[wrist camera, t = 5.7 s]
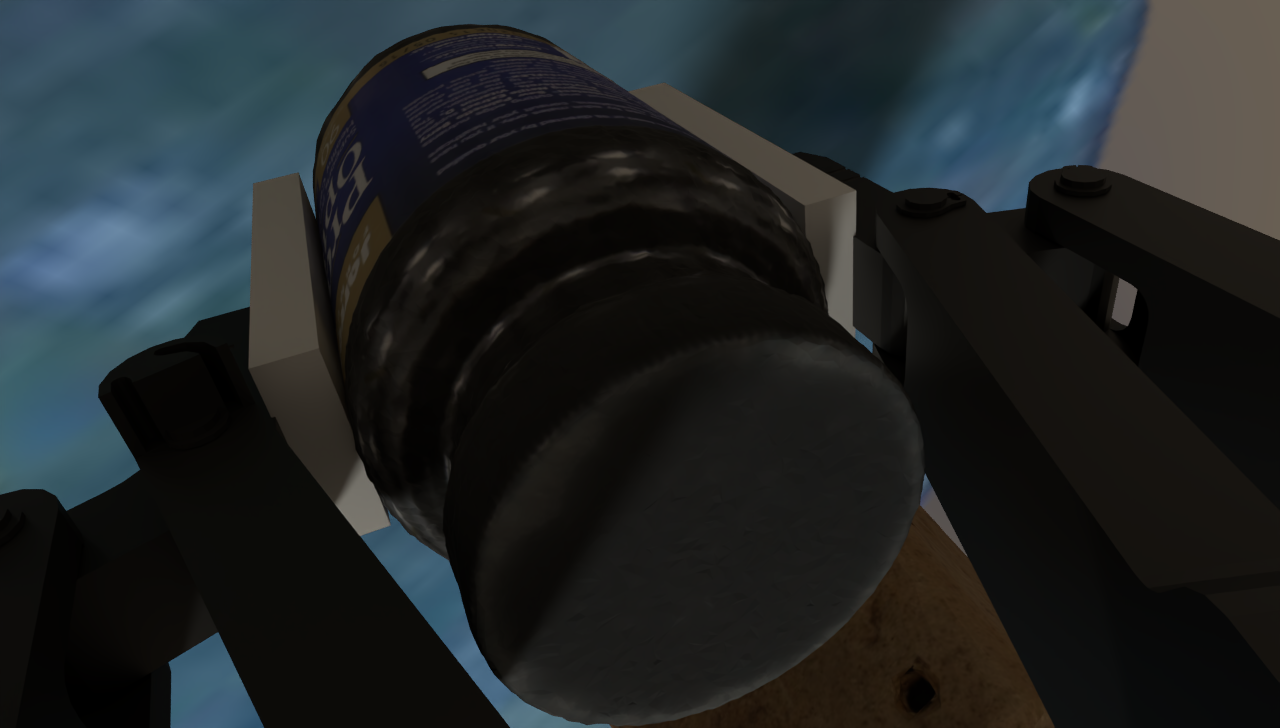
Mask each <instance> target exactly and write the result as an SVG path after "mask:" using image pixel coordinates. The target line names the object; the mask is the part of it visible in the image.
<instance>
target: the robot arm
mask: <svg viewBox="0 0 1280 728" xmlns="http://www.w3.org/2000/svg"><path fill="white" fill-rule="evenodd" d="M629 93H631V94H632V95H634V96H635V97H637V98H638V99H640V100H642V101H643V102H645V103H646V104H648V105H649V106H651V107H652V108H653V109H655V110H656V111H658V112H659V113H661V114H662V115H664V116H665V117H667V118H668V119H670V120H671V121H673V122H674V123H676V124H677V125H679V126H680V127H682V128H683V129H685V130H687V131H689V132H690V133H691V134H692V135H694V136H695V137H697V138H698V139H700V140H702V141H703V142H705V143H706V144H708V145H709V146H711V147H712V148H714V149H715V150H717V151H718V152H720V153H721V154H723V155H725V156H726V157H728V158H730V159H732V160H734V161H736V162H738V163H739V164H741V165H742V166H744V167H745V168H747V169H749V170H750V171H751V172H752V173H753V174H754V176H755V177H756V178H757V179H758V180H759V181H760V182H762V183H763V184H764V185H766V186H767V187H769V188H770V189H771V190H772V191H773V193H774V194H775V195H777V196H778V197H779V198H780V200H781V201H782V203H783V204H784V205H785V206H786V207H787V209H788V210H789V211H790V212H791V214H792V216H793V217H794V219H795V221H796V223H797V224H798V225H799V226H800V228H801V229H802V231H803V233H804V234H805V236H806V238H807V239H808V241H809V242H810V243H811V247H812V249H813V254H814V257H815V259H816V260H817V262H818V264H819V266H820V273H821V275H822V278H823V281H824V283H825V295H826V300H827V302H828V313H829V316H830V317H832V318H833V319H834V320H836V321H837V322H838V323H840V324H841V325H842V326H843V327H844V328H845V329H846V330H847V331H848V332H849V333H850V334H851V335H852V336H853V337H854V338H855V328H856V329H857V330H858V331H860V332H861V333H862V334H863V335H865V336H866V337H867V338H868V339H870V340H871V341H872V342H873V353H872V354H873V355H874V356H876V357H877V358H878V359H880V360H881V361H882V362H883V363H884V364H885V365H886V366H887V368H888V369H889V370H890V371H891V372H892V373H893V374H894V375H895V377H896V378H897V379H899V381H900V382H901V384H902V386H903V387H904V389H905V391H906V392H907V393H908V395H909V397H910V399H911V401H912V403H913V406H914V408H915V411H916V414H917V416H918V419H919V422H920V427H921V431H922V435H923V439H924V446H923V447H924V450H925V457H924V462H925V466H926V467H925V469H924V471H925V474H926V476H927V478H928V480H929V481H930V483H931V485H932V487H933V489H934V491H935V493H936V495H937V497H938V499H939V501H940V503H941V505H942V507H943V509H944V511H945V512H946V515H947V517H948V519H949V521H950V522H951V525H952V527H953V529H954V530H955V532H956V534H957V536H958V538H959V540H960V542H961V544H962V546H963V548H964V550H965V552H966V554H967V556H968V558H969V560H970V562H971V564H972V566H973V568H974V570H975V572H976V574H977V576H978V577H979V579H980V581H981V583H982V585H983V587H984V589H985V591H986V593H987V595H988V597H989V599H990V601H991V603H992V605H993V607H994V609H995V611H996V613H997V615H998V617H999V619H1000V621H1001V623H1002V625H1003V626H1004V628H1005V630H1006V632H1007V634H1008V636H1009V638H1010V640H1011V642H1012V644H1013V646H1014V648H1015V650H1016V652H1017V654H1018V656H1019V658H1020V660H1021V662H1022V664H1023V666H1024V668H1025V670H1026V672H1027V674H1028V675H1029V677H1030V679H1031V681H1032V683H1033V685H1034V687H1035V689H1036V691H1037V693H1038V695H1039V697H1040V699H1041V701H1042V703H1043V705H1044V707H1045V709H1046V711H1047V713H1048V715H1049V717H1050V719H1051V721H1052V722H1053V724H1054V726H1055V728H1280V240H1277V239H1275V238H1272V237H1270V236H1268V235H1265V234H1263V233H1260V232H1258V231H1255V230H1253V229H1251V228H1248V227H1246V226H1244V225H1242V224H1239V223H1237V222H1234V221H1232V220H1229V219H1227V218H1225V217H1223V216H1220V215H1218V214H1215V213H1213V212H1211V211H1208V210H1206V209H1204V208H1201V207H1199V206H1197V205H1194V204H1192V203H1189V202H1187V201H1185V200H1182V199H1180V198H1177V197H1175V196H1173V195H1170V194H1168V193H1165V192H1163V191H1161V190H1158V189H1156V188H1154V187H1151V186H1149V185H1147V184H1144V183H1142V182H1140V181H1137V180H1135V179H1132V178H1130V177H1128V176H1125V175H1123V174H1119V173H1116V172H1113V171H1109V170H1104V169H1097V168H1093V167H1092V166H1088V165H1078V167H1076V165H1073V166H1064V167H1063V168H1061V169H1055V170H1049V171H1046V172H1044V173H1041V174H1039V175H1036V176H1035V177H1034V178H1033V179H1032V180H1031V181H1030V182H1029V187H1028V195H1027V203H1026V208H1022V209H1015V210H1007V211H999V212H991V213H986V212H985V211H984V210H983V209H982V208H981V207H980V206H979V205H978V204H977V203H976V202H975V201H974V200H973V199H971V198H969V197H968V196H966V195H964V194H963V193H960V192H958V191H952V190H948V189H938V188H917V189H908V190H904V191H899V192H895V193H893V192H891V191H889V190H887V189H885V188H883V187H881V186H880V185H878V184H876V183H874V182H872V181H870V180H868V179H866V178H865V177H862V178H861V177H860V175H859V174H857V173H855V172H853V171H851V170H850V169H847V170H846V169H845V167H844V166H842V165H840V164H838V163H836V162H835V161H833V160H831V159H829V158H827V157H822V156H818V155H813V154H808V153H803V152H798V153H794V154H790V153H789V152H787V151H785V150H783V149H782V148H780V147H778V146H776V145H774V144H773V143H771V142H769V141H767V140H766V139H764V138H762V137H760V136H758V135H757V134H755V133H753V132H751V131H750V130H748V129H746V128H744V127H742V126H741V125H739V124H737V123H735V122H734V121H732V120H730V119H728V118H726V117H725V116H723V115H721V114H719V113H718V112H716V111H714V110H712V109H710V108H709V107H707V106H705V105H703V104H702V103H700V102H698V101H696V100H694V99H693V98H691V97H689V96H687V95H686V94H684V93H682V92H680V91H678V90H677V89H675V88H673V87H671V86H670V85H668V84H666V83H662V84H657V85H653V86H649V87H645V88H641V89H637V90H633V91H629ZM1119 278H1121V279H1123V280H1125V281H1126V282H1128V283H1130V284H1132V285H1133V286H1134V287H1135V288H1137V289H1138V290H1137V295H1136V299H1135V304H1134V309H1133V313H1132V318H1131V320H1130V323H1129V325H1128V326H1125V325H1122V324H1120V323H1119V322H1117V321H1115V320H1114V319H1112V312H1113V308H1114V302H1115V298H1116V293H1117V288H1118V283H1119ZM98 398H99V399H100V401H101V403H102V404H103V406H104V408H105V409H106V411H107V413H108V414H109V416H110V418H111V419H112V421H113V423H114V424H115V426H116V428H117V429H118V431H119V433H120V434H121V436H122V438H123V439H124V441H125V443H126V444H127V446H128V448H129V449H130V451H131V453H132V454H133V456H134V458H135V460H136V462H137V464H138V466H139V468H140V470H139V471H138V472H136V473H135V474H134V475H132V476H131V477H129V478H128V479H127V480H125V481H124V482H122V483H120V484H118V485H117V486H115V487H113V488H111V489H110V490H108V491H106V492H104V493H102V494H100V495H98V496H96V497H94V498H92V499H90V500H88V501H86V502H84V503H82V504H80V505H78V506H76V507H74V508H72V509H70V510H67V511H66V510H65V509H64V507H63V506H62V504H61V503H60V501H59V500H58V499H57V497H56V496H55V495H53V494H51V493H49V492H47V491H45V490H43V489H22V490H18V491H14V492H9V493H5V494H1V495H0V728H170V717H171V670H170V666H169V663H168V662H169V661H171V660H172V659H174V658H176V657H177V656H179V655H181V654H182V653H184V652H186V651H187V650H189V649H191V648H192V647H194V646H196V645H197V644H199V643H201V642H202V641H204V640H205V639H207V638H209V637H210V636H212V635H214V634H215V633H217V632H219V634H220V637H221V639H222V641H223V643H224V645H225V647H226V649H227V651H228V653H229V655H230V657H231V659H232V661H233V664H234V666H235V668H236V670H237V672H238V674H239V676H240V678H241V680H242V682H243V684H244V686H245V689H246V691H247V693H248V695H249V697H250V699H251V701H252V703H253V705H254V707H255V709H256V711H257V714H258V716H259V718H260V720H261V722H262V724H263V726H264V728H510V727H509V726H508V724H507V723H506V722H505V720H504V719H503V718H502V717H501V715H500V714H499V713H498V711H497V710H496V709H495V708H494V706H493V705H492V704H491V703H490V701H489V700H488V699H487V697H486V696H485V695H484V694H483V692H482V691H481V690H480V689H479V687H478V686H477V685H476V683H475V682H474V681H473V680H472V678H471V677H470V676H469V675H468V673H467V672H466V671H465V669H464V668H463V667H462V666H461V664H460V663H459V662H458V660H457V659H456V658H455V657H454V655H453V654H452V653H451V652H450V650H449V649H448V648H447V646H446V645H445V644H444V643H443V641H442V640H441V639H440V638H439V636H438V635H437V634H436V632H435V631H434V630H433V629H432V627H431V626H430V625H429V624H428V622H427V621H426V620H425V618H424V617H423V616H422V615H421V613H420V612H419V611H418V610H417V608H416V607H415V606H414V604H413V603H412V602H411V601H410V599H409V598H408V597H407V595H406V594H405V593H404V592H403V590H402V589H401V588H400V587H399V585H398V584H397V583H396V581H395V580H394V579H393V578H392V576H391V575H390V574H389V573H388V571H387V570H386V569H385V567H384V566H383V565H382V564H381V562H380V561H379V560H378V559H377V557H376V556H375V555H374V553H373V552H372V551H371V550H370V548H369V547H368V546H367V544H366V543H365V542H364V541H363V539H362V538H361V537H360V536H361V535H364V534H367V533H370V532H373V531H376V530H379V529H381V528H384V527H387V526H390V520H389V514H388V509H387V508H386V507H385V506H384V505H383V504H382V502H381V500H380V497H379V495H378V494H377V491H376V489H375V487H374V485H373V483H372V482H370V480H369V479H368V477H367V475H366V472H365V468H364V464H363V462H362V460H361V459H360V457H359V455H358V453H357V451H356V449H355V441H354V436H353V431H352V427H351V423H350V420H349V414H348V408H347V404H346V402H345V398H346V392H345V386H344V380H343V374H342V371H341V363H340V357H339V351H338V346H337V340H336V333H335V327H334V322H333V317H332V310H331V303H330V297H329V291H328V285H327V279H326V275H325V269H324V262H323V254H322V248H321V242H320V236H319V231H318V226H317V221H316V219H315V216H314V213H313V210H312V208H311V205H310V202H309V200H308V197H307V194H306V192H305V189H304V186H303V183H302V181H301V178H300V175H299V173H294V174H290V175H286V176H282V177H278V178H274V179H270V180H266V181H262V182H258V183H253V214H252V252H251V291H250V307H247V308H243V309H240V310H236V311H233V312H229V313H225V314H222V315H218V316H215V317H211V318H207V319H204V320H200V321H198V322H197V324H196V325H195V326H194V327H193V328H192V329H191V331H190V332H189V333H188V334H187V335H186V336H185V337H184V338H180V339H175V340H172V341H168V342H165V343H162V344H159V345H156V346H153V347H150V348H148V349H146V350H144V351H142V352H140V353H138V354H136V355H134V356H132V357H130V358H128V359H127V360H125V361H124V362H123V363H121V364H120V365H119V366H117V367H116V368H114V369H113V370H112V371H110V372H109V373H108V375H107V376H106V377H105V379H104V380H103V381H102V382H101V384H100V385H99V394H98Z"/></svg>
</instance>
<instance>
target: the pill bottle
mask: <svg viewBox="0 0 1280 728" xmlns="http://www.w3.org/2000/svg"><path fill="white" fill-rule="evenodd" d="M313 193H314V202H315V212H316V221H317V226H318V231H319V236H320V242H321V248H322V254H323V262H324V269H325V275H326V279H327V285H328V291H329V297H330V303H331V310H332V317H333V322H334V327H335V333H336V340H337V346H338V351H339V357H340V363H341V371H342V374H343V380H344V386H345V392H346V398H345V402H346V404H347V408H348V414H349V420H350V423H351V427H352V431H353V436H354V441H355V449H356V451H357V453H358V455H359V457H360V459H361V460H362V462H363V464H364V468H365V472H366V475H367V477H368V479H369V480H370V482H372V483H373V485H374V487H375V489H376V491H377V494H378V495H379V497H380V500H381V502H382V504H383V505H384V506H385V507H386V508H387V509H388V510H389V512H390V513H391V515H392V516H394V517H395V518H396V519H397V520H398V521H399V522H400V523H401V524H402V526H403V527H404V528H405V530H406V531H407V532H408V533H409V534H410V535H413V536H415V537H416V538H417V539H418V540H419V541H420V542H421V543H423V544H424V545H426V546H428V547H429V548H430V549H432V550H433V551H435V552H436V553H438V554H439V555H441V556H443V557H444V558H446V559H447V560H449V562H450V565H451V567H452V570H453V573H454V576H455V579H456V581H457V583H458V586H459V589H460V593H461V597H462V602H463V605H464V609H465V613H466V616H467V620H468V623H469V627H470V630H471V632H472V634H473V637H474V639H475V641H476V644H477V646H478V648H479V650H480V652H481V654H482V655H483V656H484V658H485V660H486V661H487V663H488V665H489V667H490V669H491V670H492V672H493V673H494V675H495V676H496V677H497V678H498V679H499V680H500V681H501V682H502V683H503V684H504V685H505V686H506V687H507V688H508V689H509V690H510V691H511V692H512V693H514V694H516V695H517V696H518V697H519V698H520V699H522V700H523V701H524V702H526V703H528V704H530V705H531V706H533V707H535V708H537V709H540V710H542V711H544V712H546V713H548V714H551V715H553V716H557V717H563V718H564V719H566V720H567V721H572V722H580V723H582V724H585V725H591V724H610V725H614V726H624V725H631V726H641V725H646V724H655V723H661V722H666V721H675V720H677V719H680V718H683V717H686V716H689V715H693V714H698V713H701V712H703V711H705V710H712V709H715V708H717V707H719V706H721V705H724V704H726V703H728V702H730V701H732V700H735V699H738V698H740V697H742V696H743V695H745V694H747V693H749V692H752V691H754V690H755V689H757V688H759V687H761V686H763V685H764V684H766V683H768V682H770V681H772V680H774V679H776V678H777V677H779V676H780V675H782V674H783V673H785V672H786V671H787V670H789V669H791V668H792V667H794V666H795V665H797V664H798V663H800V662H801V661H802V660H803V659H805V658H806V657H807V656H809V655H810V654H811V653H812V652H814V651H815V650H816V649H818V648H819V647H820V646H822V645H823V644H824V643H825V642H826V641H827V640H829V639H830V638H831V637H832V636H833V635H834V634H835V633H837V632H838V631H839V630H840V629H841V628H842V627H843V626H844V625H845V624H846V623H847V622H848V621H849V620H850V619H851V617H852V616H853V615H854V614H855V612H856V611H857V610H858V609H859V608H860V607H861V606H862V605H863V604H864V603H865V601H866V600H867V599H868V598H869V597H870V596H871V595H872V594H873V593H874V591H875V590H876V588H877V586H878V584H879V583H880V582H881V580H882V579H883V577H884V576H885V575H886V573H887V572H888V571H889V569H890V568H891V566H892V565H893V562H894V560H895V559H896V557H897V556H898V554H899V552H900V550H901V548H902V546H903V544H904V542H905V540H906V538H907V536H908V533H909V529H910V526H911V523H912V520H913V517H914V515H915V513H916V511H917V509H918V507H919V505H920V498H921V493H922V486H923V481H924V475H925V471H924V469H925V467H926V466H925V462H924V457H925V450H924V447H923V446H924V439H923V435H922V431H921V427H920V422H919V419H918V416H917V414H916V411H915V408H914V406H913V403H912V401H911V399H910V397H909V395H908V393H907V392H906V391H905V389H904V387H903V386H902V384H901V382H900V381H899V379H897V378H896V377H895V375H894V374H893V373H892V372H891V371H890V370H889V369H888V368H887V366H886V365H885V364H884V363H883V362H882V361H881V360H880V359H878V358H877V357H876V356H874V355H873V354H872V353H871V352H870V351H869V350H868V349H867V348H866V347H865V346H864V345H862V344H861V343H860V342H858V341H857V340H856V339H855V338H854V337H853V336H852V335H851V334H850V333H849V332H848V331H847V330H846V329H845V328H844V327H843V326H842V325H841V324H840V323H838V322H837V321H836V320H834V319H833V318H832V317H830V316H829V313H828V302H827V300H826V295H825V283H824V281H823V278H822V275H821V273H820V266H819V264H818V262H817V260H816V259H815V257H814V254H813V249H812V247H811V243H810V242H809V241H808V239H807V238H806V236H805V234H804V233H803V231H802V229H801V228H800V226H799V225H798V224H797V223H796V221H795V219H794V217H793V216H792V214H791V212H790V211H789V210H788V209H787V207H786V206H785V205H784V204H783V203H782V201H781V200H780V198H779V197H778V196H777V195H775V194H774V193H773V191H772V190H771V189H770V188H769V187H767V186H766V185H764V184H763V183H762V182H760V181H759V180H758V179H757V178H756V177H755V176H754V174H753V173H752V172H751V171H750V170H749V169H747V168H745V167H744V166H742V165H741V164H739V163H738V162H736V161H734V160H732V159H730V158H728V157H726V156H725V155H723V154H721V153H720V152H718V151H717V150H715V149H714V148H712V147H711V146H709V145H708V144H706V143H705V142H703V141H702V140H700V139H698V138H697V137H695V136H694V135H692V134H691V133H690V132H689V131H687V130H685V129H683V128H682V127H680V126H679V125H677V124H676V123H674V122H673V121H671V120H670V119H668V118H667V117H665V116H664V115H662V114H661V113H659V112H658V111H656V110H655V109H653V108H652V107H651V106H649V105H648V104H646V103H645V102H643V101H642V100H640V99H638V98H637V97H635V96H634V95H632V94H631V93H629V92H628V91H626V90H625V89H623V88H622V87H620V86H619V85H617V84H616V83H614V82H613V81H612V80H610V79H609V78H607V77H605V76H604V75H602V74H600V73H599V72H597V71H596V70H594V69H592V68H591V67H589V66H588V65H586V64H585V63H583V62H582V61H580V60H579V59H577V58H575V57H574V56H572V55H571V54H569V53H568V52H566V51H564V50H563V49H561V48H560V47H558V46H556V45H555V44H553V43H552V42H550V41H549V40H547V39H545V38H543V37H541V36H538V35H534V34H531V33H528V32H525V31H522V30H519V29H516V28H513V27H508V26H501V25H475V24H465V25H454V26H444V27H439V28H435V29H431V30H428V31H425V32H422V33H420V34H417V35H414V36H411V37H408V38H406V39H404V40H402V41H400V42H398V43H396V44H394V45H393V46H391V47H389V48H388V49H386V50H384V51H383V52H381V53H379V54H377V55H376V56H375V57H374V58H373V59H372V60H371V61H370V62H369V63H368V64H367V65H365V66H364V68H363V69H362V70H361V71H360V73H359V74H358V75H357V76H356V77H355V79H354V80H353V81H352V82H351V83H350V85H349V86H348V88H347V89H346V91H345V92H344V94H343V95H342V97H341V98H340V100H339V101H338V102H337V104H336V105H335V107H334V108H333V109H332V111H331V112H330V113H329V115H328V116H327V118H326V120H325V122H324V124H323V126H322V128H321V131H320V134H319V136H318V139H317V143H316V153H315V163H314V169H313Z"/></svg>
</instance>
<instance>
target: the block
mask: <svg viewBox="0 0 1280 728" xmlns="http://www.w3.org/2000/svg"><path fill="white" fill-rule="evenodd" d="M610 726H611V728H1055V726H1054V724H1053V722H1052V721H1051V719H1050V717H1049V715H1048V713H1047V711H1046V709H1045V707H1044V705H1043V703H1042V701H1041V699H1040V697H1039V695H1038V693H1037V691H1036V689H1035V687H1034V685H1033V683H1032V681H1031V679H1030V677H1029V675H1028V674H1027V672H1026V670H1025V668H1024V666H1023V664H1022V662H1021V660H1020V658H1019V656H1018V654H1017V652H1016V650H1015V648H1014V646H1013V644H1012V642H1011V640H1010V638H1009V636H1008V634H1007V632H1006V630H1005V628H1004V626H1003V625H1002V623H1001V621H1000V619H999V617H998V615H997V613H996V611H995V609H994V607H993V605H992V603H991V601H990V599H989V597H988V595H987V593H986V591H985V589H984V587H983V585H982V583H981V581H980V579H979V577H978V576H977V574H976V572H975V570H974V568H973V566H972V564H971V562H970V560H969V558H968V557H967V556H966V555H965V554H964V553H963V552H962V551H961V550H960V548H958V546H957V545H956V544H955V543H954V542H953V541H952V540H951V539H950V538H949V537H948V536H947V535H946V533H945V532H944V531H943V530H942V529H941V528H940V526H939V525H938V524H937V523H936V522H935V521H934V520H933V519H932V518H931V517H930V516H929V514H928V513H927V512H926V511H925V510H924V509H923V508H922V507H921V506H920V505H919V507H918V509H917V511H916V513H915V515H914V517H913V520H912V523H911V526H910V529H909V533H908V536H907V538H906V540H905V542H904V544H903V546H902V548H901V550H900V552H899V554H898V556H897V557H896V559H895V560H894V562H893V565H892V566H891V568H890V569H889V571H888V572H887V573H886V575H885V576H884V577H883V579H882V580H881V582H880V583H879V584H878V586H877V588H876V590H875V591H874V593H873V594H872V595H871V596H870V597H869V598H868V599H867V600H866V601H865V603H864V604H863V605H862V606H861V607H860V608H859V609H858V610H857V611H856V612H855V614H854V615H853V616H852V617H851V619H850V620H849V621H848V622H847V623H846V624H845V625H844V626H843V627H842V628H841V629H840V630H839V631H838V632H837V633H835V634H834V635H833V636H832V637H831V638H830V639H829V640H827V641H826V642H825V643H824V644H823V645H822V646H820V647H819V648H818V649H816V650H815V651H814V652H812V653H811V654H810V655H809V656H807V657H806V658H805V659H803V660H802V661H801V662H800V663H798V664H797V665H795V666H794V667H792V668H791V669H789V670H787V671H786V672H785V673H783V674H782V675H780V676H779V677H777V678H776V679H774V680H772V681H770V682H768V683H766V684H764V685H763V686H761V687H759V688H757V689H755V690H754V691H752V692H749V693H747V694H745V695H743V696H742V697H740V698H738V699H735V700H732V701H730V702H728V703H726V704H724V705H721V706H719V707H717V708H715V709H712V710H705V711H703V712H701V713H698V714H693V715H689V716H686V717H683V718H680V719H677V720H675V721H666V722H661V723H655V724H646V725H641V726H631V725H624V726H614V725H610Z"/></svg>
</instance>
